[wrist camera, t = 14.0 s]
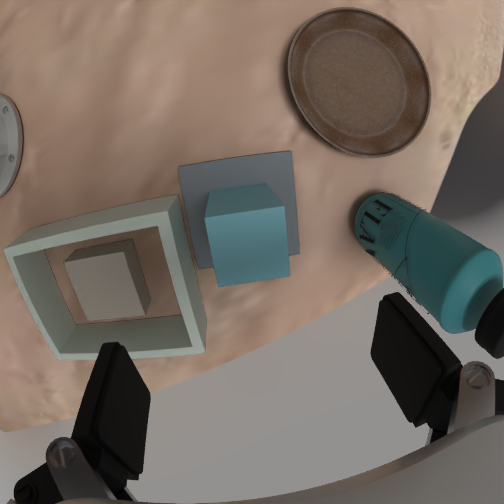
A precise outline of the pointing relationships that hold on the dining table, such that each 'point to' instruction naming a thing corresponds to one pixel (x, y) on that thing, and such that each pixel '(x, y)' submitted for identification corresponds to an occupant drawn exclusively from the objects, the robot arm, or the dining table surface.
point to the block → (247, 234)
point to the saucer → (359, 82)
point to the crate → (111, 284)
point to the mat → (234, 175)
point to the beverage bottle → (437, 267)
